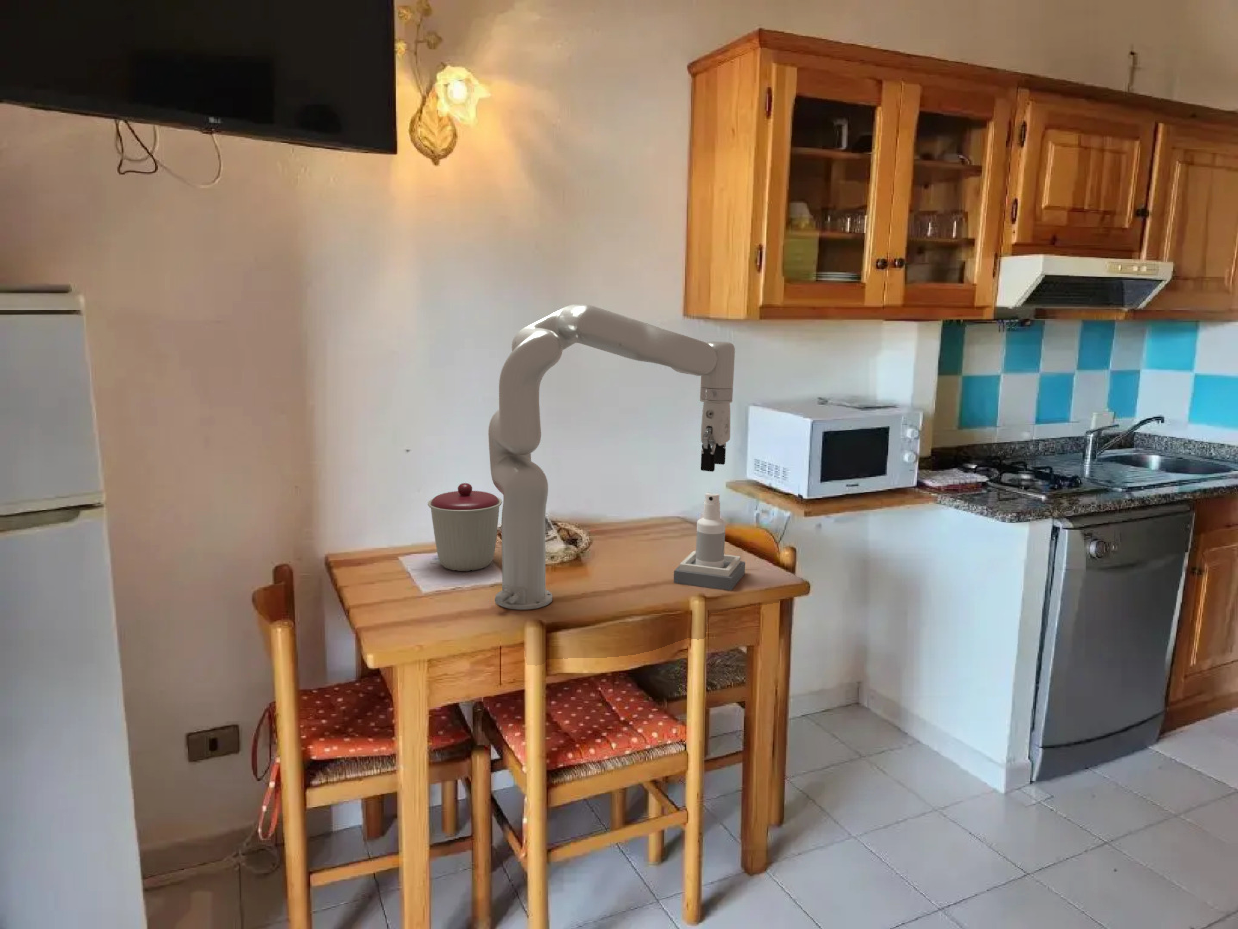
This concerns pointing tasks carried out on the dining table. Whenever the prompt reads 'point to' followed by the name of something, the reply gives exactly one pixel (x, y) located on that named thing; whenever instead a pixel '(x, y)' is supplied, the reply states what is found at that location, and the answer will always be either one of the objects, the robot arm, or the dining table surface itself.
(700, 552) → the spray bottle
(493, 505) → the canister
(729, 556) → the stand
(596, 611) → the dining table surface
